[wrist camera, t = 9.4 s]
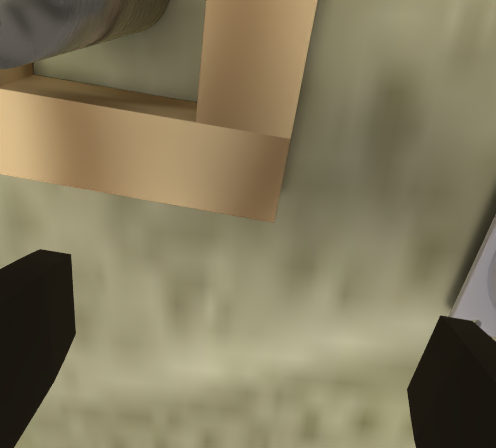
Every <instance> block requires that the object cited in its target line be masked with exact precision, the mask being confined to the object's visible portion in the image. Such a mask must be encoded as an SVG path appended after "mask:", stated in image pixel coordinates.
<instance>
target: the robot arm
mask: <svg viewBox="0 0 496 448" xmlns="http://www.w3.org/2000/svg"><path fill="white" fill-rule="evenodd" d="M472 320H477V321H476V322H475V323H474V322H473V321H472ZM75 334H76V330H75V313H74V297H73V280H72V263H71V254H65V253H59V252H53V251H47V250H41V249H40V250H37V251H35V252H33V253H31V254H29V255H27V256H25V257H23V258H21V259H19V260H17V261H15V262H13V263H11V264H9V265H7V266H5V267H3V268H2V269H0V448H14V447H15V445H16V443H17V442H18V440H19V439H20V437H21V435H22V434H23V432H24V430H25V429H26V427H27V426H28V424H29V422H30V421H31V419H32V417H33V416H34V414H35V412H36V411H37V409H38V408H39V406H40V404H41V403H42V401H43V399H44V398H45V396H46V394H47V393H48V391H49V389H50V388H51V386H52V384H53V383H54V381H55V379H56V377H57V375H58V372H59V370H60V368H61V366H62V364H63V362H64V360H65V357H66V355H67V353H68V351H69V348H70V346H71V344H72V341H73V339H74V337H75ZM490 336H491V337H496V215H495V217H494V219H493V221H492V223H491V226H490V228H489V230H488V232H487V234H486V236H485V239H484V241H483V243H482V245H481V247H480V249H479V252H478V254H477V256H476V258H475V260H474V262H473V265H472V267H471V269H470V271H469V273H468V276H467V278H466V280H465V282H464V284H463V286H462V289H461V291H460V293H459V295H458V297H457V299H456V302H455V304H454V306H453V308H452V310H451V312H450V315H449V317H446V316H440V318H439V320H438V322H437V324H436V326H435V329H434V331H433V333H432V335H431V338H430V340H429V342H428V344H427V346H426V349H425V351H424V353H423V355H422V357H421V360H420V362H419V364H418V366H417V368H416V371H415V373H414V375H413V377H412V380H411V382H410V384H409V386H408V388H407V392H408V400H409V407H410V415H411V422H412V428H413V434H414V441H415V444H416V448H496V342H495V341H494V340H493V339H492V338H491V337H490Z"/></svg>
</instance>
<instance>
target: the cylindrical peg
mask: <svg viewBox="0 0 496 448" xmlns="http://www.w3.org/2000/svg"><path fill="white" fill-rule="evenodd" d="M168 2H169V0H0V69H9V68H15V67H19V66H22V65H26V64H29V63H33V62H36V61H39V60H43V59H46V58H50V57H53V56H57V55H60V54H64V53H67V52H71V51H74V50H77V49H81V48H84V47H88V46H91V45H95V44H98V43H102V42H105V41H109V40H112V39H115V38H119V37H122V36H126V35H129V34H133V33H136V32H140V31H142V30H145V29H147V28H149V27H150V26H152V25H153V24H154V23H156V22H157V20H158V19H159V18H160V17H161V16H162V14H163V13H164V11H165V9H166V7H167V4H168Z"/></svg>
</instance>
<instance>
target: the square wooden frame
mask: <svg viewBox="0 0 496 448" xmlns="http://www.w3.org/2000/svg"><path fill="white" fill-rule="evenodd" d="M316 6H317V0H206V10H205V22H204V33H203V44H202V56H201V67H200V79H199V90H198V102H197V103H196V102H190V101H184V100H178V99H172V98H167V97H161V96H155V95H149V94H143V93H137V92H132V91H126V90H120V89H114V88H108V87H102V86H96V85H91V84H85V83H79V82H73V81H67V80H61V79H56V78H50V77H44V76H38V75H33V64H32V63H29V64H26V65H22V66H19V67H15V68H9V69H0V174H3V175H9V176H15V177H20V178H26V179H31V180H37V181H43V182H48V183H54V184H59V185H65V186H71V187H76V188H82V189H88V190H93V191H99V192H104V193H110V194H116V195H121V196H127V197H132V198H138V199H144V200H149V201H155V202H160V203H166V204H172V205H177V206H183V207H189V208H194V209H200V210H205V211H211V212H217V213H222V214H228V215H233V216H239V217H245V218H250V219H256V220H261V221H267V222H273V223H274V222H275V217H276V212H277V206H278V201H279V196H280V191H281V186H282V181H283V175H284V170H285V165H286V160H287V155H288V150H289V145H290V139H291V134H292V129H293V124H294V119H295V114H296V109H297V103H298V98H299V93H300V88H301V83H302V78H303V73H304V67H305V62H306V57H307V52H308V47H309V42H310V36H311V31H312V26H313V21H314V16H315V11H316Z"/></svg>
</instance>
